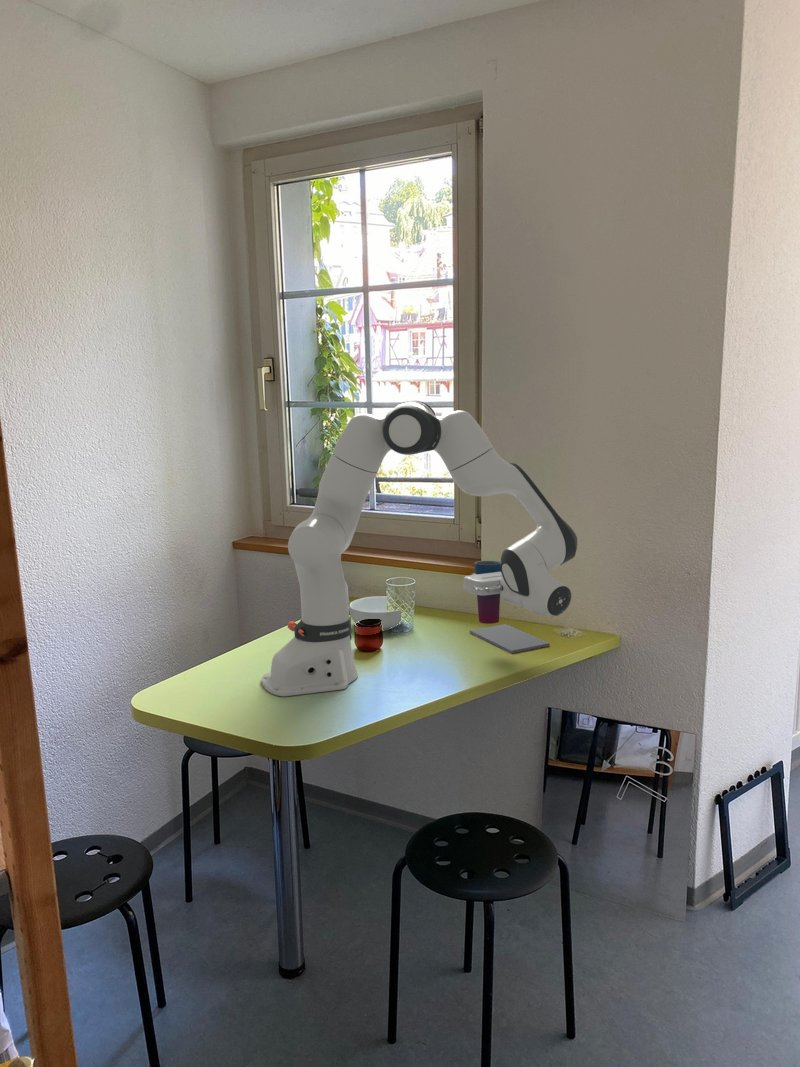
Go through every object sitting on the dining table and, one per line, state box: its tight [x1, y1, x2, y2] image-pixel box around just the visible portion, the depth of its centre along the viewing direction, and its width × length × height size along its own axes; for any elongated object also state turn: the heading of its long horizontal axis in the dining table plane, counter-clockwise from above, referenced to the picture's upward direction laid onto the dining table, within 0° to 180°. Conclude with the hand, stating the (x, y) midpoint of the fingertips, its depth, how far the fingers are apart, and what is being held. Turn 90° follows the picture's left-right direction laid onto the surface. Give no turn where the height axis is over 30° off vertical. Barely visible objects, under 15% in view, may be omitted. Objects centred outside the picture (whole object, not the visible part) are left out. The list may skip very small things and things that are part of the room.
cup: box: [473, 560, 501, 625], centre depth 200 cm, size 7×7×15 cm
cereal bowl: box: [349, 595, 401, 632], centre depth 228 cm, size 17×17×7 cm
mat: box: [469, 623, 551, 654], centre depth 215 cm, size 12×20×1 cm, turn 27°
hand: (486, 574), depth 200 cm, fingers closed on cup, 6 cm apart
